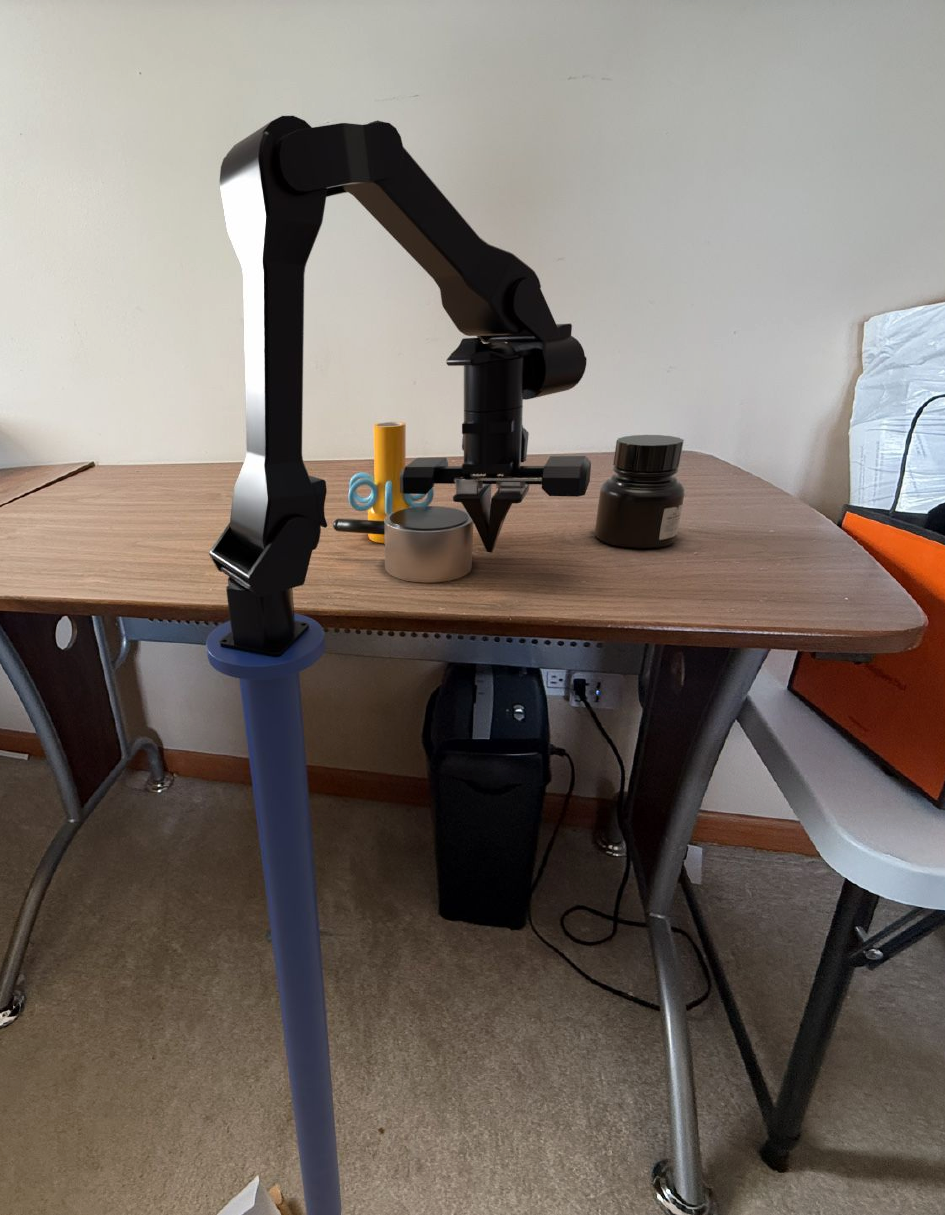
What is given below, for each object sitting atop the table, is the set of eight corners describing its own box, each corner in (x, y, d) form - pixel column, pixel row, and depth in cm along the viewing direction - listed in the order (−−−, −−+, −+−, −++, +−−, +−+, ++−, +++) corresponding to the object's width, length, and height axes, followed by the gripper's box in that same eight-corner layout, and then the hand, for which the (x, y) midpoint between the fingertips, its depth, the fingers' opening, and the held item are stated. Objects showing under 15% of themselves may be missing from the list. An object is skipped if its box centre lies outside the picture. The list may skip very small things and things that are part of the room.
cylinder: (369, 557, 79) (366, 435, 72) (333, 535, 88) (328, 426, 81) (451, 539, 82) (455, 422, 76) (408, 520, 91) (409, 414, 85)
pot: (478, 555, 76) (481, 506, 73) (462, 586, 68) (464, 532, 65) (348, 546, 83) (347, 500, 81) (319, 572, 75) (316, 523, 73)
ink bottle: (685, 552, 72) (706, 447, 67) (600, 551, 74) (615, 449, 69) (664, 526, 80) (681, 431, 75) (588, 526, 83) (600, 433, 78)
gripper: (601, 390, 65) (588, 531, 72) (426, 399, 74) (429, 525, 81) (591, 408, 57) (578, 567, 63) (395, 417, 66) (401, 555, 72)
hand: (490, 551), depth 70 cm, fingers closed
